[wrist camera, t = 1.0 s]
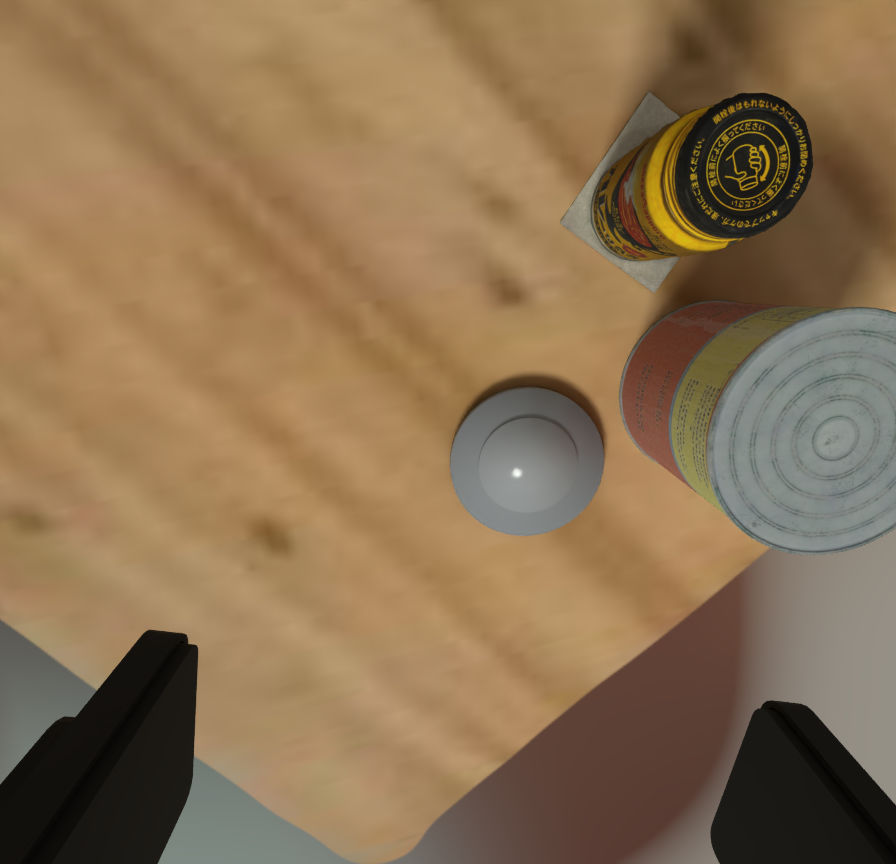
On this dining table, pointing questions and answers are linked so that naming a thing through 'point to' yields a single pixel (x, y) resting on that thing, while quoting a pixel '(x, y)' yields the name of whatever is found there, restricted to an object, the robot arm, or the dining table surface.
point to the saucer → (526, 461)
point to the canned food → (773, 417)
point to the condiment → (692, 182)
